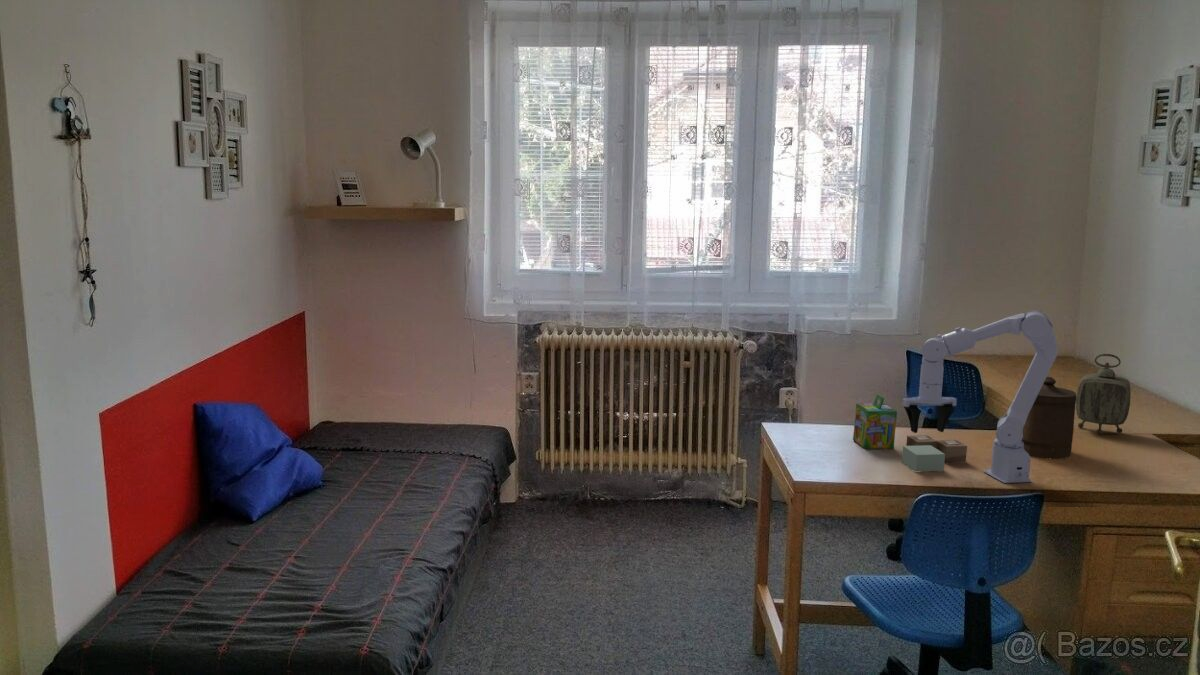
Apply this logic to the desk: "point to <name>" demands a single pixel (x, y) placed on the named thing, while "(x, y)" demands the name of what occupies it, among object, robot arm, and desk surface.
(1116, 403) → the tabletop clock
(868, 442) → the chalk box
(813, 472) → the desk surface
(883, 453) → the desk surface
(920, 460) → the sage block
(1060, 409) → the wooden container
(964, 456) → the walnut block
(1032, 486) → the desk surface
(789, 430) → the desk surface
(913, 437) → the walnut block
